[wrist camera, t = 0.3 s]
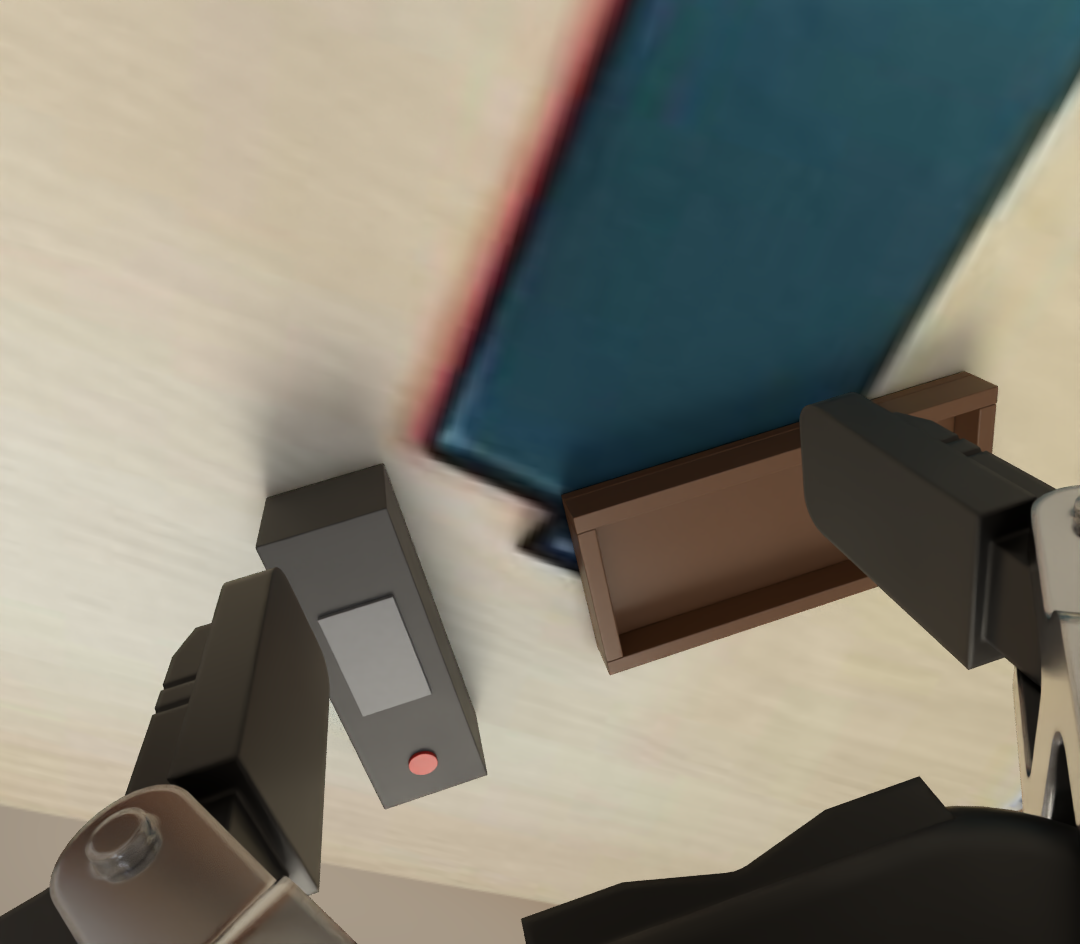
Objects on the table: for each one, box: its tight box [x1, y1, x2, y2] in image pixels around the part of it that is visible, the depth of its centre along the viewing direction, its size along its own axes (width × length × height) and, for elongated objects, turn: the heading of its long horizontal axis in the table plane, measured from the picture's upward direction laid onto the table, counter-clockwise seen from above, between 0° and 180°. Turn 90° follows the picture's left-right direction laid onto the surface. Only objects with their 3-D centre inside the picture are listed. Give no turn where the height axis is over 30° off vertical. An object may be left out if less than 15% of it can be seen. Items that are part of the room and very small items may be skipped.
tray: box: [562, 371, 998, 675], centre depth 33 cm, size 9×19×2 cm, turn 102°
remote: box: [256, 464, 487, 809], centre depth 30 cm, size 14×5×4 cm, turn 12°
